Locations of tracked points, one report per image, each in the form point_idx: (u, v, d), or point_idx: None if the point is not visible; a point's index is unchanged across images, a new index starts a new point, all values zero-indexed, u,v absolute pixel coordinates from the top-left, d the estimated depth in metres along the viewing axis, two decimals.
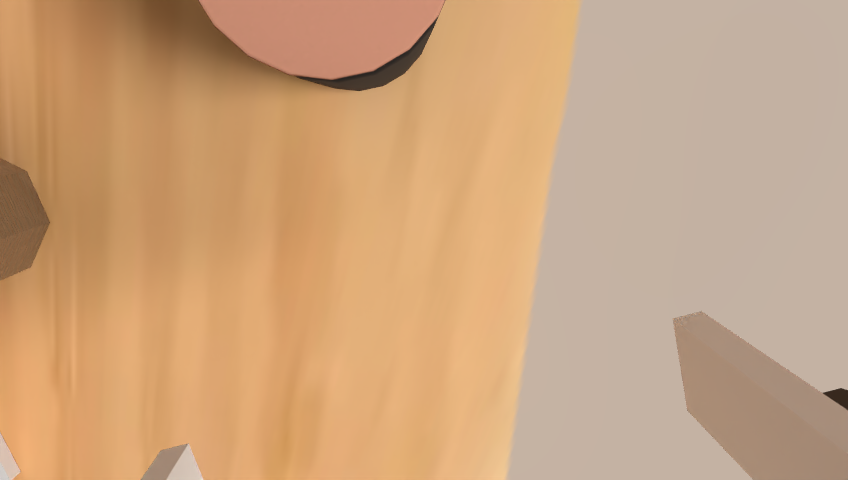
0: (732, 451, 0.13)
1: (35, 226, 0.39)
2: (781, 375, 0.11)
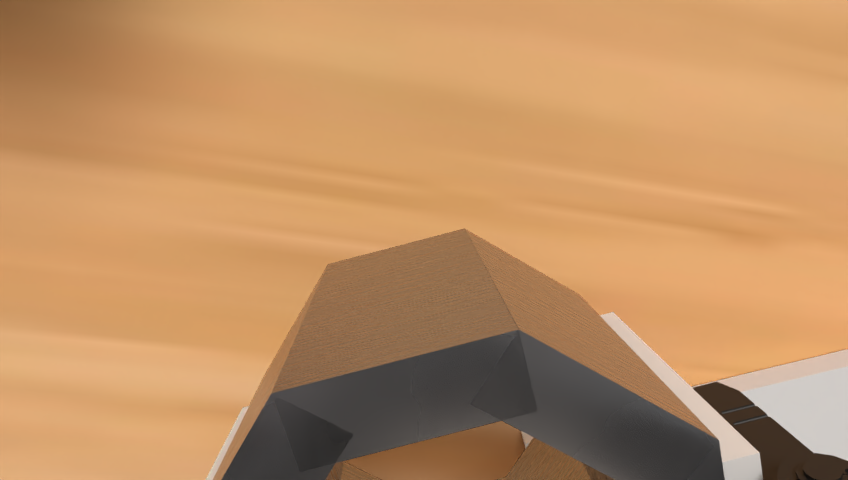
0: None
1: (471, 243, 0.14)
2: (661, 370, 0.12)
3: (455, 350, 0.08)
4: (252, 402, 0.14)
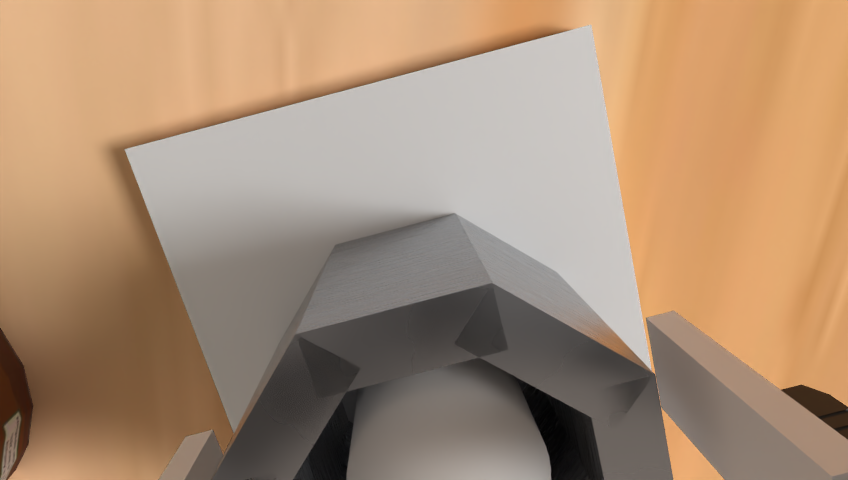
0: (701, 446, 0.13)
1: (459, 224, 0.16)
2: (742, 373, 0.11)
3: (442, 299, 0.11)
4: (271, 361, 0.16)
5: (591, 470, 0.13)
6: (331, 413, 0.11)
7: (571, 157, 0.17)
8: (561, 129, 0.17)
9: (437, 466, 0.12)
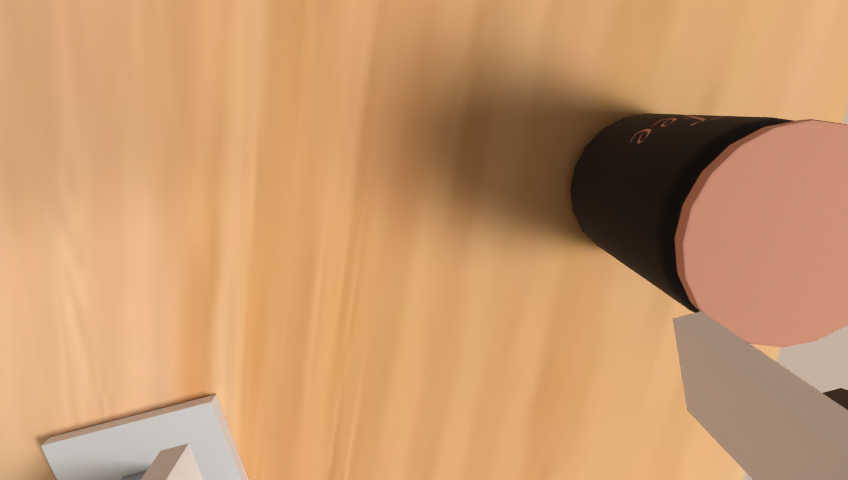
0: (732, 451, 0.13)
1: None
2: (781, 376, 0.11)
3: None
4: None
5: None
6: None
7: (211, 444, 0.45)
8: (205, 435, 0.45)
9: None
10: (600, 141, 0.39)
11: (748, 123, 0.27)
